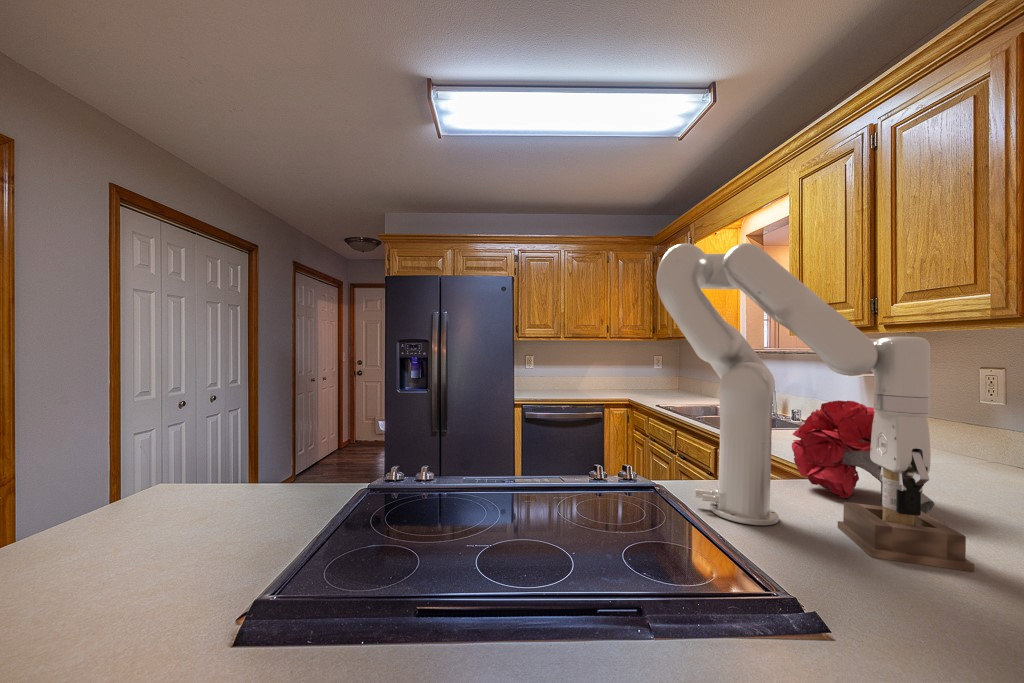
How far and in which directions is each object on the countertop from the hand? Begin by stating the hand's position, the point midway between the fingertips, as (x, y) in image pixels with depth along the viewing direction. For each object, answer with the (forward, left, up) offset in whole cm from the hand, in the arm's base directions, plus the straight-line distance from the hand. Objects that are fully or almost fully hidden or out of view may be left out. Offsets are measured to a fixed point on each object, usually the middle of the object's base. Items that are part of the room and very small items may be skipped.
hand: (899, 508), depth 79 cm
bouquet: (+5, +31, -7) cm, 32 cm away
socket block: (0, 0, -7) cm, 7 cm away
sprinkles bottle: (0, 0, -4) cm, 4 cm away
